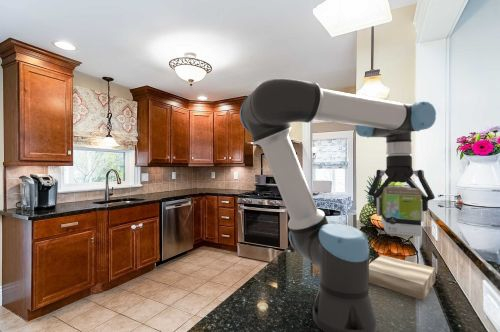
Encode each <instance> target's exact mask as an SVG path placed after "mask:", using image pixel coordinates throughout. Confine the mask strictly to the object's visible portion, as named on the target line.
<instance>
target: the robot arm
mask: <svg viewBox="0 0 500 332" xmlns="http://www.w3.org/2000/svg"><path fill="white" fill-rule="evenodd" d="M239 119H240V124H241V125H242V127H244V129H245V130H246V131H248V132H249V133H250V135H251V136H250V137H251V138H252V140H253V143H254V144H256V145H258V146H260V147H261V149H262V151H263V154H264V157H265V159H266V162H267V164H268V166H269V168H270V170H271V174H272V176H273V179H274V181H275V184H276V186H277V189H278V191H279V193H280V196H281V198H282V201H283V204H284V206H285V209H286V211H287V213H288V216H289V220H288V223H287V227H288V230H289V232H288V239H289V242H290V245H291V247H292V248H293V250H294V251H295V252H296V253H297V254H298V255H300V256H301V257H303V258H305V259H306V261H308V262H309V263H310V262H311V263H312V264H313V265H314V266H316V267H317V268H318V269H319V271H318V272H319V286H318V287H319V288H318V291H317V293H316V297H315V300H314V302H313V306H312V319H313V322H314V324H315V326H316V327H317V326H318V327H319V328H320V329H321V330H320V329H319V328H318V327H317V328H318V329H319V330H320V331H322V330H323V331H324V332H378V319H377V316H376V313H375V310H374V306H373V304H372V301H371V297H370V295H369V294H370V292H369V291H370V289H369V287H370V285H369V284H370V283H369V264H370V247H369V240H368V238H367V235H366V234H365V233H364V232H363V231H362V230H361V229H358V228H356V227H354V226H352V225H345V224H342V223H329V222H328V220H327V219H328V218H327V217H326V214H325V212H324V211H323V210H322V209H319V208H317V204H316V203H315V200H314V198H313V195H312V192H311V190H310V187H309V185H308V182H307V179H306V176H305V173H304V171H303V169H302V167H301V164H300V161H299V159H298V155H297V154H296V150H295V148H294V146H293V142H292V141H291V138H290V132H291V129H292V126H291V124H290V123H299V122H300V123H311V122H312V121H313V120H317V121H325V122H331V123H339V124H346V125H347V124H348V125H353V126H354V127H355V132H356V134H357V135H358V136H360V137H363V138H364V137H365V138H385V139H386V140H385V144H386V149H385V150H386V153H385V154H386V155H387V156H386V161H385V162H386V165H385V167H386V168H385V169H384V170H383V169H377V170H376V175H375V178H374V180H373V181H372V184H371V186H370V188H369V191H368V195H369V196H372V197H373V205H374V207H376V216H377V217H381V215H382V192H383V189H384V187H387V186H390V185H391V184H392V183H406V185H408V186H409V187H411V188H417V189H420V187H419V186H418V185H417V184H416V183H415V181H414V180H413V179H412V178H411V177H412V176H413V175H415V177H417V178H418V180H419V182H420V184H421V186H422V188H423V190H424V191H425V193H424V191H423V190H421V223H423V222H425V212H428V210H429V201H432V200H435V198H436V197H435V194H434V193H433V190H432V189H431V187H430V185H429V183H428V181H427V179H426V177H425V171H424V169H418V170H414V169H413V156H412V155H411V154H412V153H413V147H412V146H413V142H412V141H413V140H412V137H413V136H412V134H413V133H412V132H420V131H423V130H428V129H429V128H431V127H433V126H434V124H435V123H436V119H437V111H436V109H435V107H434V105H433V104H432V103H431V102H429V101H423V100H422V101H417V102H414V103H402V102H397V101H391V100H387V99H380V98H374V97H369V96H365V95H358V94H355V93H354V94H353V93H347V92H342V91H337V90H330V89H326V88H322V87H320V84H318V83H317V82H312V81H307V80H301V79H300V80H299V79H295V78H294V79H293V78H283V77H282V78H281V77H279V78H272V79H271V78H270V79H268V80H265V81H263V82H261V83H259V85H258V86H256V88H255V89H254V90H253V91H252V92H251V93H250V94H249V95H248V96H246V97H245V98H244V100H243V102H242V104H241V107H240V109H239ZM385 175H386V176H387V178H386V179H385V180H384V182H383V183H382V184H381V185H380V187H379V188H378V185H379V184H380V182H381V180H382V178H383V176H385ZM323 331H322V332H323Z"/></svg>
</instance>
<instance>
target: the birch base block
mask: <svg viewBox="0 0 500 332" xmlns="http://www.w3.org/2000/svg"><path fill="white" fill-rule="evenodd" d="M435 283H436V268H435V267H432V266H429V265H426V264H425V265H424V264H420V263H416V262H413V261H407V260H403V259H399V258H397V257H396V258H395V257H391V256H386V255H383V254H381V255H380V256H378V257H377V258H375V259H374V260H372V261H371V262H369V284H371V285H376V286H378V287H381V288H382V287H383V288H385V289H387V290H388V289H389V290H391V291H394V292H398V293H401V294H404V295H406V296H410V297H413V298H415V299H419V300H422V301H424V300H425V299H426V297H427V296H428V294H429V292H430V291H431V289H432V288H433V286H434V284H435Z"/></svg>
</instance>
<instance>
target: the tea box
mask: <svg viewBox="0 0 500 332" xmlns="http://www.w3.org/2000/svg"><path fill="white" fill-rule="evenodd" d="M421 191H422V189H417V188H411V187H410V186H409V185H388V186H387V187H384V189H383V192H382V193H381V197H382V215H381V216H380V217H381V221H380V223H381V225H382V227H383V229H384V231H385V233H386V234H392V235H403V236H411V237H421V236H422V222H421V200H422V199H421Z"/></svg>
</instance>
